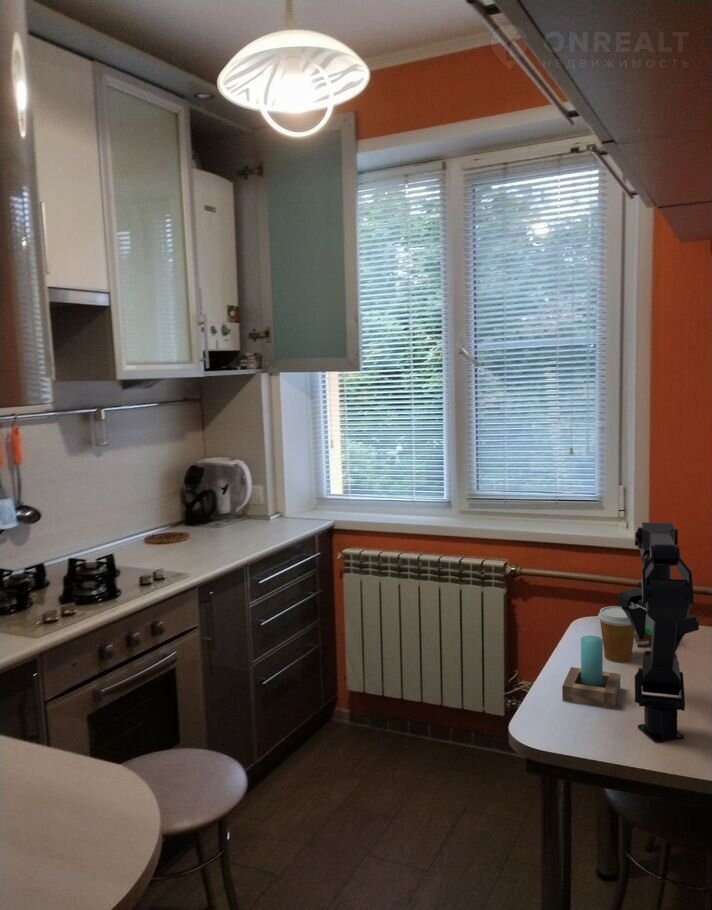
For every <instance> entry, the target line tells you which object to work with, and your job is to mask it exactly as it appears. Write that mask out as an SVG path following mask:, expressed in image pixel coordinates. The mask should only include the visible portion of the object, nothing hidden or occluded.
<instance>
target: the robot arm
mask: <svg viewBox="0 0 712 910" xmlns="http://www.w3.org/2000/svg"><path fill="white" fill-rule="evenodd" d="M678 533H679V532H678V528H676V527H675V525H674V523H672V522H645V521H643V522H642V523H641V526H639V527H638V528H637V530H636V531H635V534H634V546H635V547H636V546H637V549H638V550H639V551H640V556H641V562H642V563H641V564H642V570H641V581H640V582H638V584H637V586H638V587H636V588H632V589H627V590H623V591H620V592H619V594H618V596H617V605H619V606H620V607H622V610H624V612H625V613H626V615H627V617H628V619H629V620H630V622H631V624H632V626H633V628H634V630H635V632H636V634H637V636H638V638H639V639H644V635H645V624H646V614H647V615H648V616H649V617H650V618H651V619H652V620H653V628H652V643H651V646H650V647H651V648H650V650H644V651H643V653H642V659H641V668H637V671H636V674H635V675H634V702H635V703H637V704H638V706H639V707H644V708H643V709H644V711H643V713H644V715H643V717H644V718H643V719H644V723H641V724H637V728H638V729H639V731H641V732H642V733H644V734H645V735H646V736H647V737H649V738H650V740H652V741H653V742H655V743H660V742H667V741H668V742H669V741H674V740H682V739H684V738H685V735H684V734H683V733H682V732H681V731H680V730H678V711H683V712H684V711H686V700H685V683H684V682H685V681H684V673H683V671H680V662H679V660H678V655H677V654H676V653H677V652H676V651H677V650H678V648H679V645H680V644H681V641H682V639H683V637H685V635H686V634H690V633H693V632H696V631H699V630H700V627H699V626H700V619H698V617H696V616H695V615H692V614H690V613H689V612H690V609H692V607H694V599H695V596H696V594H694V586H693V585H694V584H693V574H692V573H693V572H692V571H691V570H690V568H689V567H688V566H687V565H686V564H685V562H684V561H683V560H682V558H681V551H680V545H678V544H679V543H678V541H679V534H678ZM673 567H675V570H676V571H677V572H678V573H679V574H680V576H681V577H682V578H680V579H678V578H672V573H673V572H672V570H673V569H672V568H673ZM644 693H645V694H644ZM647 693H648V694H647ZM649 693H650V694H649ZM655 694H656V695H655ZM657 694H660V695H657ZM661 694H662V695H661ZM665 695H666V696H665ZM667 695H670V696H667ZM671 695H672V696H671ZM677 696H679V697H677Z"/></svg>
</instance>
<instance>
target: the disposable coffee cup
mask: <svg viewBox="0 0 712 910" xmlns="http://www.w3.org/2000/svg"><path fill="white" fill-rule="evenodd" d="M597 616H598V620H599V622H600V629H601V636H602V638H601V639H602V640H603V653H604V654H603V655H604V658H605V659H606V660H609V661H610V662H615V663H627V662H630V661H631V660H632V654H633V647H634V642H635V641H634V634H635V630H634V628H633V626H632V624H631V622H630V620H629V619H628V617H627V615H626V613H625V612H624V610H622V606H616V605H615V606H613V605H612V606H606V607H602V608H600V610H599V613H598V614H597Z"/></svg>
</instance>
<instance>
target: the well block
mask: <svg viewBox="0 0 712 910" xmlns="http://www.w3.org/2000/svg"><path fill="white" fill-rule="evenodd" d="M561 688H562V689H561V691H562V694H561V695H562V702H567V703H574V704H579V705H584V706H585V705H587V706H592V707H593V706H594V707H597V708H598V707H599V708H605V709H611V710H615V708H616V705H617V701H618V697H619V695H620V692H621V673H615V672H609V671H603V688H602V687H595V686H589V685H582V684H581V667H580V668H579V667H573V666H571V667H570V668H569V671H568V673H567V675H566V677H565V678H564V681H563V684H562V686H561Z"/></svg>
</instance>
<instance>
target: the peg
mask: <svg viewBox="0 0 712 910" xmlns="http://www.w3.org/2000/svg"><path fill="white" fill-rule="evenodd" d="M603 653H604V646H603V639H602V638H601V637H600V636H597V635H596V636H595V635H585V636H584V635H583V636H581V637H580V668H581V684H582V685H589V686H595V687H602V688H603V672H604V671H603V667H604V665H603V661H604V659H603V655H604V654H603Z"/></svg>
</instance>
